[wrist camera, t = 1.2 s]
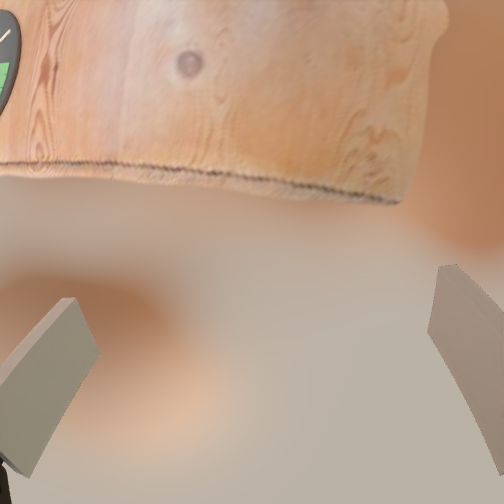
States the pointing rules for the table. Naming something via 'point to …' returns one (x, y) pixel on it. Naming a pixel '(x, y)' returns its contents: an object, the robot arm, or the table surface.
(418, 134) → the table surface
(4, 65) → the dial
